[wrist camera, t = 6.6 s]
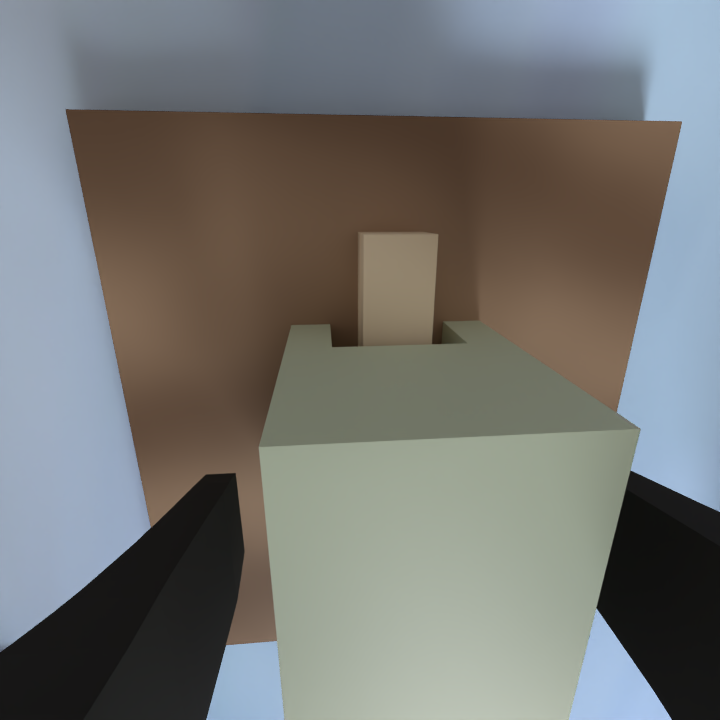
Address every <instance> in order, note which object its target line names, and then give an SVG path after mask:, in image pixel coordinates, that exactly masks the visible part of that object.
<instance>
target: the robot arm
mask: <svg viewBox="0 0 720 720" xmlns="http://www.w3.org/2000/svg"><path fill="white" fill-rule="evenodd" d="M244 553H245V549H244V540H243V532H242V523H241V514H240V505H239V497H238V488H237V479H236V473H225V474H206V475H205V476H204V477H203V478H202V479H201V480H200V481H199V482H197V483H196V484H195V485H194V486H193V487H192V488H191V489H190V490H189V491H188V492H187V493H186V494H185V495H184V496H183V497H182V498H181V499H180V500H179V501H178V502H177V503H176V504H175V505H174V506H173V507H172V508H171V509H170V510H169V511H168V512H167V513H166V514H165V515H164V516H163V517H162V518H161V519H160V520H159V521H158V522H157V523H156V524H155V525H153V526H152V527H151V528H150V529H149V530H148V531H147V532H146V533H145V534H144V535H143V536H142V537H141V538H140V539H139V540H138V541H137V542H136V543H134V544H133V545H132V546H131V547H130V548H129V549H128V550H127V551H125V552H124V553H123V554H122V555H121V556H120V557H119V558H117V559H116V560H115V561H114V562H113V563H112V564H111V565H109V566H108V567H107V568H106V569H105V570H104V571H103V572H101V573H100V574H99V575H98V576H97V577H96V578H95V579H93V580H92V581H91V582H90V583H89V584H88V585H87V586H85V587H84V588H83V589H82V590H81V591H79V592H78V593H77V594H76V595H75V596H73V597H72V598H71V599H70V600H68V601H67V602H66V603H65V604H63V605H62V606H61V607H60V608H58V609H57V610H56V611H55V612H53V613H52V614H51V615H49V616H48V617H47V618H45V619H44V620H43V621H42V622H40V623H39V624H38V625H36V626H35V627H34V628H32V629H31V630H30V631H28V632H27V633H26V634H24V635H23V636H22V637H20V638H19V639H18V640H17V641H15V642H14V643H13V644H11V645H10V646H8V647H7V648H6V649H4V650H3V651H2V652H0V720H206V718H207V714H208V711H209V707H210V703H211V699H212V695H213V692H214V688H215V684H216V680H217V677H218V673H219V669H220V665H221V662H222V658H223V654H224V650H225V647H226V643H227V639H228V635H229V631H230V628H231V624H232V620H233V616H234V612H235V608H236V604H237V600H238V594H239V587H240V581H241V574H242V567H243V560H244ZM596 608H597V609H598V611H599V612H600V614H601V615H602V617H603V618H604V619H605V621H606V622H607V624H608V625H609V627H610V628H611V630H612V631H613V632H614V634H615V635H616V637H617V638H618V640H619V641H620V643H621V644H622V645H623V647H624V648H625V650H626V651H627V653H628V654H629V656H630V657H631V658H632V660H633V661H634V663H635V664H636V666H637V667H638V669H639V670H640V671H641V673H642V674H643V676H644V677H645V679H646V680H647V682H648V683H649V684H650V686H651V688H652V689H653V691H654V692H655V694H656V695H657V697H658V698H659V700H660V701H661V703H662V705H663V706H664V708H665V709H666V711H667V712H668V714H669V716H670V717H671V719H672V720H720V512H718V511H716V510H714V509H712V508H710V507H707V506H705V505H703V504H701V503H699V502H697V501H694V500H692V499H690V498H688V497H686V496H684V495H682V494H679V493H677V492H675V491H673V490H671V489H669V488H667V487H665V486H662V485H660V484H658V483H656V482H654V481H652V480H650V479H647V478H645V477H643V476H641V475H639V474H637V473H635V472H632V471H630V474H629V478H628V482H627V486H626V490H625V494H624V498H623V502H622V506H621V510H620V514H619V518H618V522H617V526H616V530H615V534H614V538H613V542H612V546H611V550H610V554H609V558H608V562H607V566H606V570H605V575H604V579H603V583H602V587H601V591H600V595H599V599H598V603H597V607H596Z"/></svg>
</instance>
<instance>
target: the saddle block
mask: <svg viewBox="0 0 720 720" xmlns="http://www.w3.org/2000/svg"><path fill="white" fill-rule="evenodd" d="M639 433H640V428H638V427H637V426H636V425H634V424H633V423H631V422H630V421H628V420H627V419H625V418H624V417H622V416H621V415H619V414H618V413H616V412H615V411H613V410H612V409H610V408H609V407H607V406H606V405H604V404H603V403H601V402H600V401H598V400H597V399H595V398H594V397H592V396H591V395H589V394H588V393H586V392H585V391H583V390H582V389H580V388H579V387H578V386H576V385H575V384H573V383H572V382H570V381H569V380H567V379H566V378H564V377H563V376H561V375H560V374H558V373H557V372H555V371H554V370H552V369H551V368H549V367H548V366H546V365H545V364H543V363H542V362H540V361H539V360H537V359H536V358H534V357H533V356H531V355H530V354H528V353H527V352H525V351H524V350H522V349H521V348H519V347H518V346H517V345H515V344H514V343H512V342H511V341H509V340H508V339H506V338H505V337H503V336H502V335H500V334H499V333H497V332H496V331H494V330H493V329H491V328H490V327H488V326H487V325H485V324H484V323H482V322H481V321H443V328H442V344H428V345H393V346H358V347H332V341H331V328H330V324H318V325H291V329H290V332H289V336H288V340H287V343H286V347H285V351H284V355H283V358H282V362H281V366H280V370H279V373H278V377H277V381H276V385H275V388H274V392H273V396H272V399H271V403H270V407H269V411H268V414H267V418H266V422H265V426H264V429H263V433H262V437H261V441H260V444H259V455H260V466H261V476H262V487H263V497H264V508H265V519H266V529H267V540H268V550H269V561H270V571H271V582H272V592H273V603H274V613H275V624H276V635H277V645H278V656H279V666H280V677H281V687H282V698H283V708H284V719H285V720H569V716H570V712H571V708H572V704H573V700H574V696H575V692H576V688H577V683H578V679H579V675H580V671H581V667H582V663H583V659H584V655H585V651H586V647H587V643H588V639H589V635H590V631H591V627H592V623H593V619H594V615H595V611H596V607H597V603H598V599H599V595H600V591H601V587H602V583H603V579H604V575H605V570H606V566H607V562H608V558H609V554H610V550H611V546H612V542H613V538H614V534H615V530H616V526H617V522H618V518H619V514H620V510H621V506H622V502H623V498H624V494H625V490H626V486H627V482H628V478H629V474H630V470H631V466H632V462H633V457H634V453H635V449H636V445H637V441H638V437H639Z"/></svg>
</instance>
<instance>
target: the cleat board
mask: <svg viewBox="0 0 720 720" xmlns="http://www.w3.org/2000/svg"><path fill="white" fill-rule="evenodd" d="M66 114H67V119H68V124H69V128H70V133H71V138H72V143H73V148H74V153H75V158H76V163H77V168H78V172H79V177H80V182H81V187H82V192H83V197H84V202H85V207H86V212H87V217H88V221H89V226H90V231H91V236H92V241H93V246H94V251H95V256H96V261H97V265H98V270H99V275H100V280H101V285H102V290H103V295H104V300H105V305H106V309H107V314H108V319H109V324H110V329H111V334H112V339H113V344H114V349H115V353H116V358H117V363H118V368H119V373H120V378H121V383H122V388H123V393H124V397H125V402H126V407H127V412H128V417H129V422H130V427H131V432H132V437H133V441H134V446H135V451H136V456H137V461H138V466H139V471H140V476H141V481H142V485H143V490H144V495H145V500H146V505H147V510H148V515H149V520H150V525H151V527H152V526H153V525H155V524H156V523H157V522H158V521H159V520H160V519H161V518H162V517H163V516H164V515H165V514H166V513H167V512H168V511H169V510H170V509H171V508H172V507H173V506H174V505H175V504H176V503H177V502H178V501H179V500H180V499H181V498H182V497H183V496H184V495H185V494H186V493H187V492H188V491H189V490H190V489H191V488H192V487H193V486H194V485H195V484H196V483H197V482H199V481H200V480H201V479H202V478H203V477H204V476H205V475H206V474H225V473H236V479H237V488H238V497H239V505H240V514H241V523H242V532H243V540H244V549H245V553H244V560H243V567H242V574H241V581H240V587H239V594H238V600H237V604H236V608H235V612H234V616H233V620H232V624H231V628H230V631H229V635H228V639H227V643H226V645H234V644H246V643H257V642H269V641H277V635H276V624H275V613H274V603H273V592H272V582H271V571H270V561H269V550H268V540H267V529H266V519H265V508H264V497H263V487H262V476H261V466H260V455H259V444H260V441H261V437H262V433H263V429H264V426H265V422H266V418H267V414H268V411H269V407H270V403H271V399H272V396H273V392H274V388H275V385H276V381H277V377H278V373H279V370H280V366H281V362H282V358H283V355H284V351H285V347H286V343H287V340H288V336H289V332H290V329H291V325H318V324H330V328H331V341H332V347H358V346H393V345H428V344H442V328H443V321H481V322H482V323H484V324H485V325H487V326H488V327H490V328H491V329H493V330H494V331H496V332H497V333H499V334H500V335H502V336H503V337H505V338H506V339H508V340H509V341H511V342H512V343H514V344H515V345H517V346H518V347H519V348H521V349H522V350H524V351H525V352H527V353H528V354H530V355H531V356H533V357H534V358H536V359H537V360H539V361H540V362H542V363H543V364H545V365H546V366H548V367H549V368H551V369H552V370H554V371H555V372H557V373H558V374H560V375H561V376H563V377H564V378H566V379H567V380H569V381H570V382H572V383H573V384H575V385H576V386H578V387H579V388H580V389H582V390H583V391H585V392H586V393H588V394H589V395H591V396H592V397H594V398H595V399H597V400H598V401H600V402H601V403H603V404H604V405H606V406H607V407H609V408H610V409H612V410H613V411H615V412H616V413H617V408H618V404H619V399H620V395H621V390H622V386H623V382H624V377H625V373H626V368H627V364H628V359H629V355H630V351H631V346H632V342H633V337H634V333H635V328H636V324H637V320H638V315H639V311H640V306H641V302H642V297H643V293H644V289H645V284H646V280H647V275H648V271H649V266H650V262H651V257H652V253H653V249H654V244H655V240H656V235H657V231H658V226H659V222H660V218H661V213H662V209H663V204H664V200H665V195H666V191H667V187H668V182H669V178H670V173H671V169H672V164H673V160H674V156H675V151H676V147H677V142H678V138H679V133H680V129H681V124H682V122H679V121H628V120H577V119H527V118H476V117H425V116H374V115H323V114H272V113H222V112H171V111H120V110H69V109H66Z"/></svg>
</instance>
